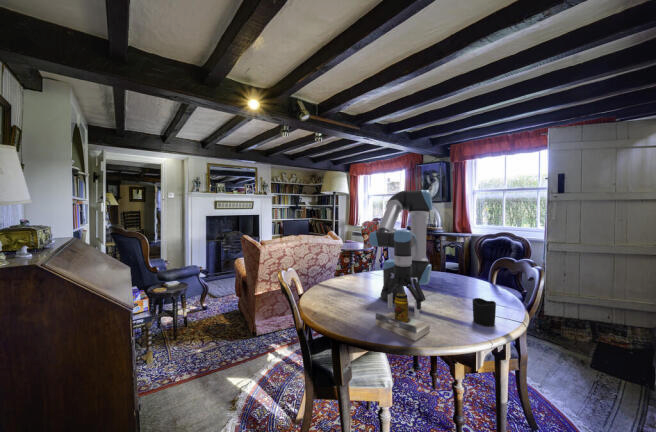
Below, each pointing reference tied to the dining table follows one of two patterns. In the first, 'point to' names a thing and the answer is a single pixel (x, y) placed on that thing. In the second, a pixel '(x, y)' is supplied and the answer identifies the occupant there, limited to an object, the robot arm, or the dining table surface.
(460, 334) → the dining table surface
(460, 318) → the dining table surface
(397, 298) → the condiment
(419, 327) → the cream flat block
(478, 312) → the pen holder
